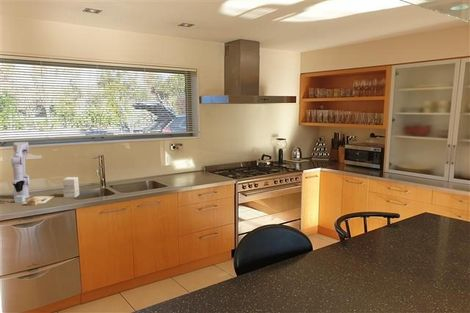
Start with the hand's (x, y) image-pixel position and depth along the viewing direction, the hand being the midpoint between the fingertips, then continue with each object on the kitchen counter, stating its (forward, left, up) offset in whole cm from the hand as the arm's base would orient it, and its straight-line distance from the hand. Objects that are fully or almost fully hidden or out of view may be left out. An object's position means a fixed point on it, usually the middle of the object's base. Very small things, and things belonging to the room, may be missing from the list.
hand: (19, 191), depth 247 cm
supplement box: (+32, +13, -9) cm, 36 cm away
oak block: (+12, -9, -8) cm, 17 cm away
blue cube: (0, 0, -8) cm, 8 cm away
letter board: (+12, +4, -8) cm, 15 cm away
